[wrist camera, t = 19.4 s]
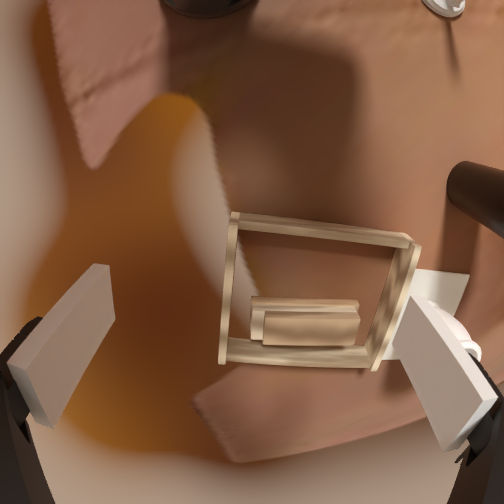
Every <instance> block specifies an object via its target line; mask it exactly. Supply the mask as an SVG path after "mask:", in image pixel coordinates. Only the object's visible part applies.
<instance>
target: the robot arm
mask: <svg viewBox="0 0 504 504" xmlns="http://www.w3.org/2000/svg"><path fill="white" fill-rule="evenodd" d="M164 1H165V3H166V4H167V5H168V6H169V7H170V8H171V9H173V10H174V11H176V12H178V13H180V14H182V15H185V16H188V17H193V18H216V17H220V16H224V15H227V14H230V13H233V12H235V11H237V10H239V9H240V8H242V7H244V6H245V5H246V4H248V3H249V2H250V1H251V0H164ZM114 320H115V314H114V306H113V298H112V289H111V280H110V269H109V265H102V264H93V265H92V266H91V267H90V268H89V269H88V270H87V271H86V272H85V273H84V274H83V275H82V276H81V277H80V278H79V279H78V280H77V281H76V282H75V284H74V285H73V286H72V287H71V288H70V289H69V290H68V291H67V292H66V293H65V294H64V295H63V297H62V298H61V299H60V300H59V301H58V302H57V303H56V304H55V305H54V307H53V308H52V309H51V310H50V311H49V312H48V313H47V314H46V316H45V317H44V318H42V317H36V318H34V319H33V320H31V321H29V322H28V323H27V324H26V325H25V326H24V327H23V328H22V329H21V330H20V333H18V334H17V335H16V336H15V337H14V340H12V341H11V342H10V343H9V344H8V346H7V347H6V348H5V349H4V350H3V352H2V353H1V354H0V504H55V502H54V499H53V497H52V494H51V492H50V489H49V487H48V484H47V481H46V479H45V476H44V473H43V470H42V468H41V465H40V462H39V459H38V456H37V452H36V449H35V446H34V443H33V439H32V436H31V432H30V428H29V425H28V423H27V421H26V417H27V416H28V414H29V412H30V413H31V415H32V416H33V418H34V420H35V422H37V423H39V424H42V425H44V426H47V427H50V428H52V429H54V428H55V426H56V424H57V422H58V420H59V418H60V416H61V414H62V412H63V410H64V408H65V406H66V404H67V403H68V401H69V399H70V397H71V395H72V393H73V391H74V390H75V388H76V386H77V384H78V382H79V380H80V379H81V377H82V375H83V373H84V371H85V370H86V368H87V366H88V364H89V363H90V361H91V359H92V357H93V356H94V354H95V352H96V351H97V349H98V347H99V345H100V344H101V342H102V340H103V339H104V337H105V335H106V334H107V332H108V330H109V328H110V327H111V325H112V324H113V322H114ZM392 346H393V347H394V349H395V351H396V353H397V355H398V357H399V359H400V361H401V363H402V365H403V367H404V369H405V371H406V373H407V375H408V377H409V379H410V381H411V383H412V385H413V387H414V389H415V391H416V394H417V396H418V398H419V400H420V402H421V404H422V406H423V408H424V411H425V413H426V415H427V417H428V419H429V421H430V424H431V426H432V428H433V430H434V433H435V435H436V437H437V439H438V442H439V444H440V446H441V449H442V451H443V452H446V451H450V450H454V449H458V448H459V447H460V446H461V445H462V444H463V442H464V441H465V440H466V439H468V441H469V443H470V445H469V446H468V447H467V448H466V449H465V450H464V452H463V453H462V454H461V455H460V456H459V457H458V458H457V460H456V461H455V463H458V462H459V461H460V460H461V459H462V458H463V460H462V463H461V464H460V465H461V466H460V469H459V472H458V475H457V478H456V481H455V484H454V487H453V489H452V492H451V495H450V498H449V500H448V502H447V504H504V397H503V395H502V394H501V392H500V391H499V390H498V388H497V386H496V385H495V384H494V382H493V381H492V379H491V378H490V377H489V375H488V373H487V372H486V371H485V370H484V368H483V366H482V365H481V364H480V362H479V361H478V360H477V359H476V358H475V357H474V356H473V355H471V354H470V353H467V351H466V350H465V349H464V347H463V346H462V344H461V343H460V342H459V340H458V339H457V338H456V336H455V335H454V334H453V332H452V331H451V330H450V328H449V327H448V326H447V325H446V323H445V322H444V321H443V319H442V318H441V317H440V316H439V314H438V313H437V312H436V311H435V309H434V308H433V307H432V305H431V304H430V303H429V302H428V301H427V299H426V298H425V297H424V296H418V295H410V297H409V300H408V303H407V305H406V308H405V311H404V314H403V316H402V319H401V321H400V324H399V327H398V329H397V332H396V334H395V337H394V339H393V341H392Z"/></svg>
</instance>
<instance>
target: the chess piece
mask: <svg viewBox="0 0 504 504" xmlns="http://www.w3.org/2000/svg"><path fill="white" fill-rule="evenodd" d="M422 1H423V2H424V3H425V4H426V5H427V6H428V7H429V8H430V9H431V10H433V11H434V12H436V13H437V14H439V15H442V16H445V17H455V16H458V15H459V14H461V12H462V11H463V10H464V7H465V0H422Z"/></svg>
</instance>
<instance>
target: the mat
mask: <svg viewBox="0 0 504 504" xmlns="http://www.w3.org/2000/svg"><path fill="white" fill-rule="evenodd" d="M469 277H470V275H469V274H462V273H452V272H442V271H433V270H423V269H415V272H414V275H413V278H412V281H411V284H410V287H409V290H408V293H407V296H406V299H405V301H404V304H403V307H402V310H401V312H400V315H399V318H398V321H397V323H396V326H395V328H394V331H393V333H392V336H391V338H390V341H389V343H388V346H387V348H386V351H385V353H384V355H383V358H382V360H400V359H399V357H398V355H397V353H396V351H395V349H394V347H393V346H392V341H393V339H394V337H395V334H396V332H397V329H398V327H399V324H400V321H401V319H402V316H403V314H404V311H405V308H406V305H407V303H408V300H409V297H410V295H418V296H424V297H425V298H426V299H427V301H434V302H436V303H437V304H438V305H439V307H440V309H442V310H444V311H446V312H448V313H449V314H450V315H451V316H452V317H454V315H455V312H456V310H457V308H458V305H459V303H460V300H461V298H462V295H463V293H464V290H465V287H466V285H467V282H468V279H469Z"/></svg>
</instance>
